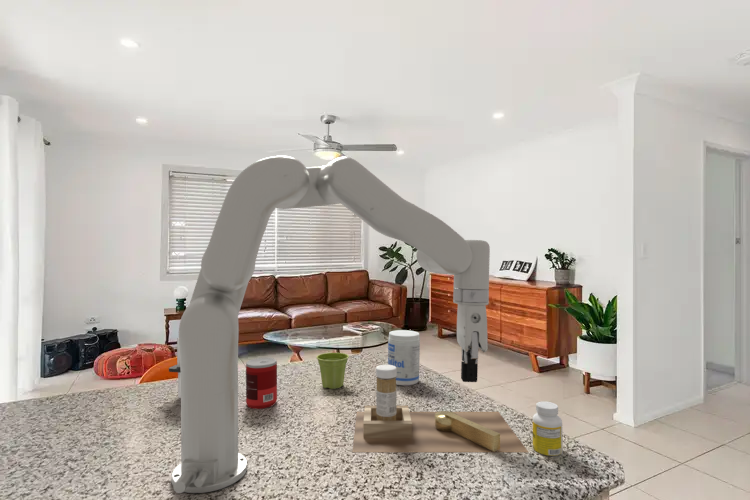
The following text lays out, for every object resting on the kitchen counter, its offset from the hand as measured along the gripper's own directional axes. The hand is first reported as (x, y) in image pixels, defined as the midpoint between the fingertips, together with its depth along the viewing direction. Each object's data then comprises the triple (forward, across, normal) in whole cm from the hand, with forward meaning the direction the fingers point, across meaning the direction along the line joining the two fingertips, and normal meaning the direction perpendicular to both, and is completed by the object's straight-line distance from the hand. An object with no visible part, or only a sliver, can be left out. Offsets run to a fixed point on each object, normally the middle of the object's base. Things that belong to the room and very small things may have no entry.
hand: (469, 380), depth 92 cm
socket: (+11, 0, +18) cm, 21 cm away
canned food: (+13, +17, +50) cm, 54 cm away
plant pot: (+12, +31, +33) cm, 47 cm away
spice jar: (+11, 0, +18) cm, 21 cm away
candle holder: (+13, +24, +69) cm, 74 cm away
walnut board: (+12, -1, +8) cm, 14 cm away
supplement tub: (+12, +35, +12) cm, 39 cm away
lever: (+10, -4, +1) cm, 11 cm away
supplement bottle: (+11, -10, -14) cm, 20 cm away
